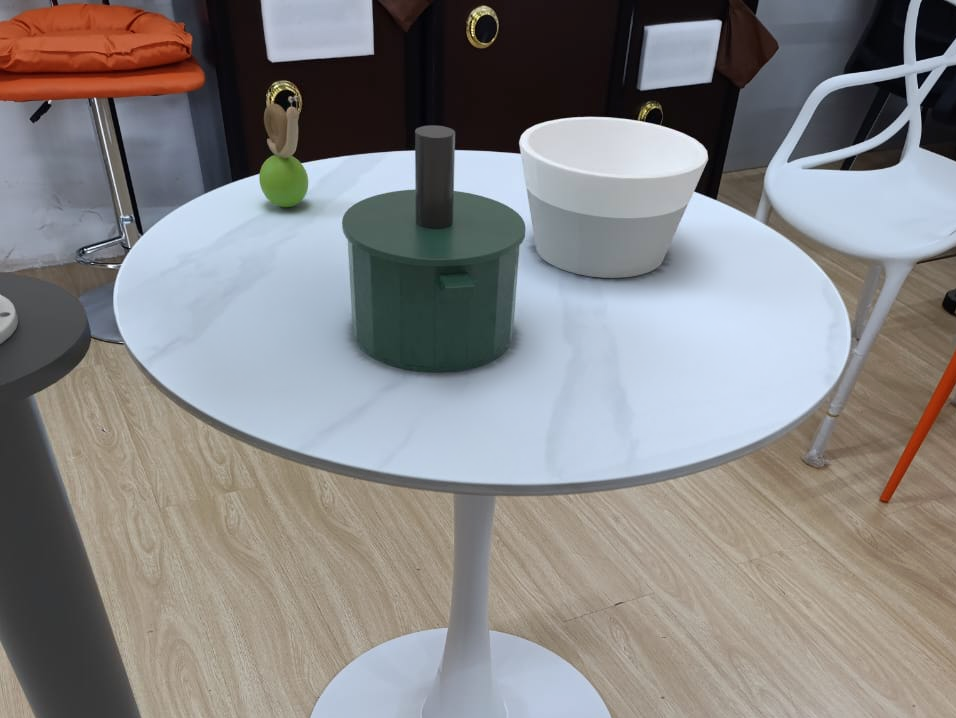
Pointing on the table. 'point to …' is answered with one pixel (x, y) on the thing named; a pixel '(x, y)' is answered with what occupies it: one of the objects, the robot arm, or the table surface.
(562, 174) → the bowl
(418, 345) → the pot
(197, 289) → the table surface
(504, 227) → the lid
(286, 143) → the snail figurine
